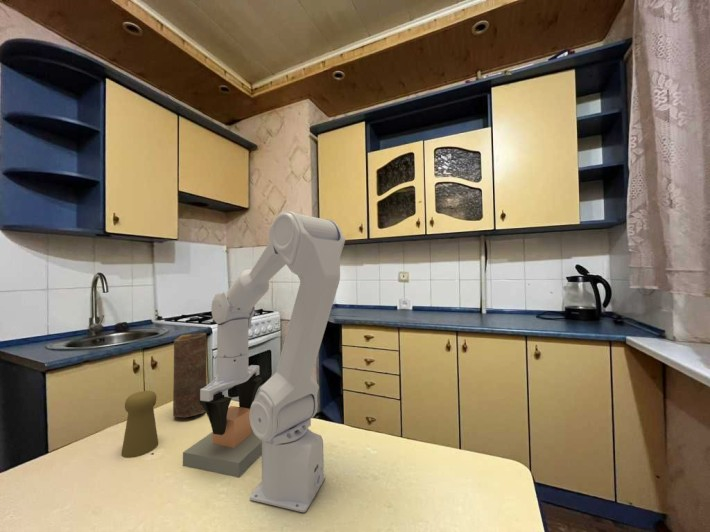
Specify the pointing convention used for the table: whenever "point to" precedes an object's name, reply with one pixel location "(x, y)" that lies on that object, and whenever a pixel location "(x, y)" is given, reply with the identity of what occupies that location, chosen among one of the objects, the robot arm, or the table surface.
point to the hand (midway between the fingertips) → (233, 423)
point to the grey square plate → (223, 456)
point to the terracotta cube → (234, 427)
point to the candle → (189, 374)
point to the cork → (140, 425)
